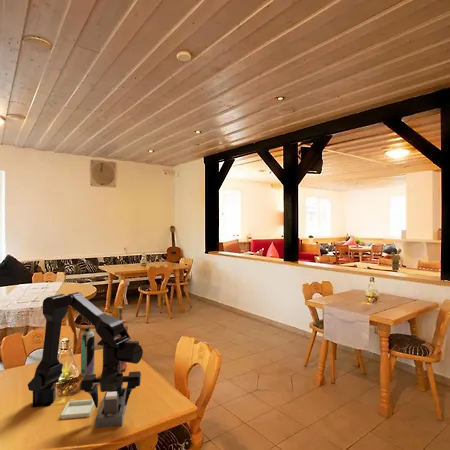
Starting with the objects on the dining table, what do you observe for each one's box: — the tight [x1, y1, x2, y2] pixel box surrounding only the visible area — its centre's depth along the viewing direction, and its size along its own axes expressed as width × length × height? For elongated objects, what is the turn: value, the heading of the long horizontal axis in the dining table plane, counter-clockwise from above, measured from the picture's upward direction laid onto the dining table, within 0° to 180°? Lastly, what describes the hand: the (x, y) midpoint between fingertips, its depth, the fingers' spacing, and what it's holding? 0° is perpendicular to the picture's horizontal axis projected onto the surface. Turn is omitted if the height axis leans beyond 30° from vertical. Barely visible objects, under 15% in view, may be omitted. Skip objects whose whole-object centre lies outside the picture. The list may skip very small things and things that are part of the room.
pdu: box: [95, 384, 128, 429], centre depth 119 cm, size 8×20×8 cm, turn 10°
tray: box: [60, 398, 95, 420], centre depth 119 cm, size 9×9×2 cm
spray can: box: [80, 326, 95, 377], centre depth 149 cm, size 6×6×20 cm
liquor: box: [114, 306, 128, 372], centre depth 154 cm, size 7×7×28 cm
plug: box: [104, 391, 119, 414], centre depth 114 cm, size 4×4×8 cm
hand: (111, 406), depth 114 cm, fingers open, 9 cm apart
